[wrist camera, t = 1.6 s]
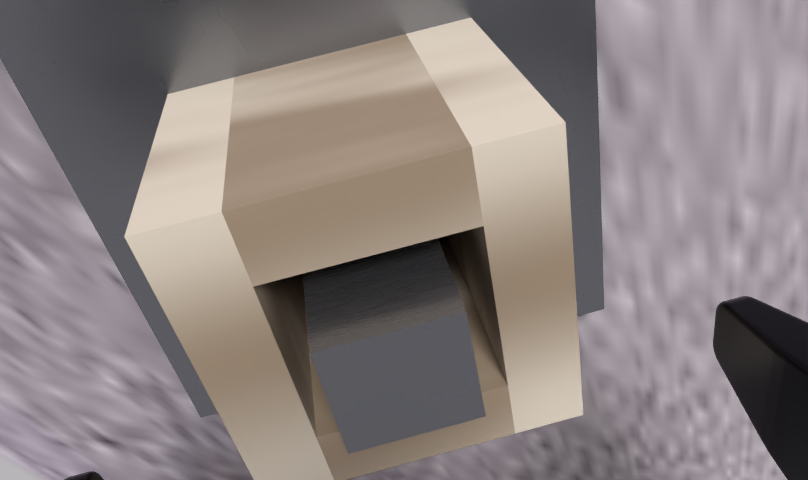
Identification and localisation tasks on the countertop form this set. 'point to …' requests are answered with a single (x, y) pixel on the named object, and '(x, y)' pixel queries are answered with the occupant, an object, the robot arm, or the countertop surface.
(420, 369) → the metal post stand
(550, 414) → the ash wood collar block
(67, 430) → the countertop surface
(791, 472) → the robot arm
